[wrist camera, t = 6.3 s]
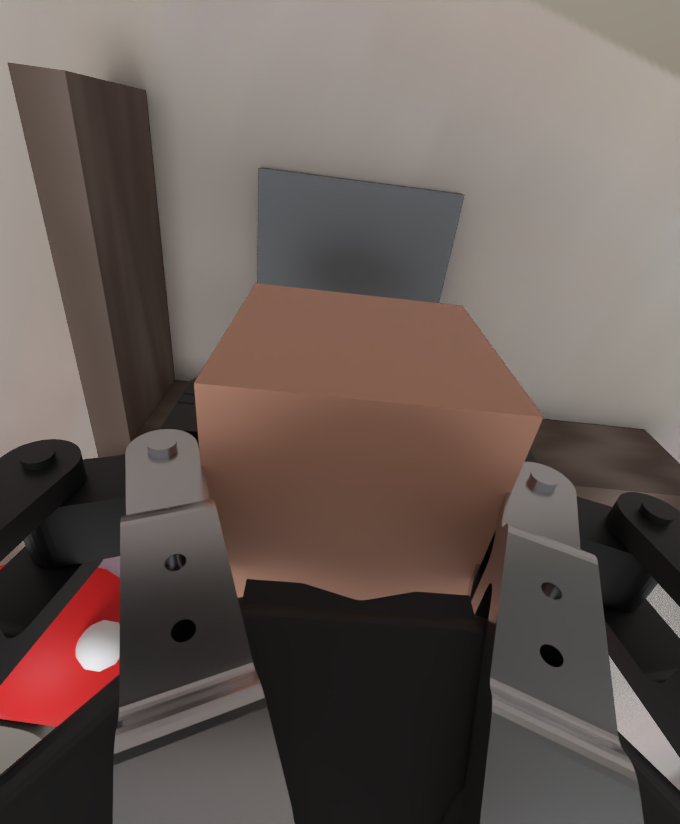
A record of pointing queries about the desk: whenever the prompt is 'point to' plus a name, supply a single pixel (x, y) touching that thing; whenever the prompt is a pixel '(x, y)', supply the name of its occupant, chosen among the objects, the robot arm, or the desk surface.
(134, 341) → the brown wooden corner barrier
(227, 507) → the block
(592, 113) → the desk surface
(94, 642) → the mushroom
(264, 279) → the pad
